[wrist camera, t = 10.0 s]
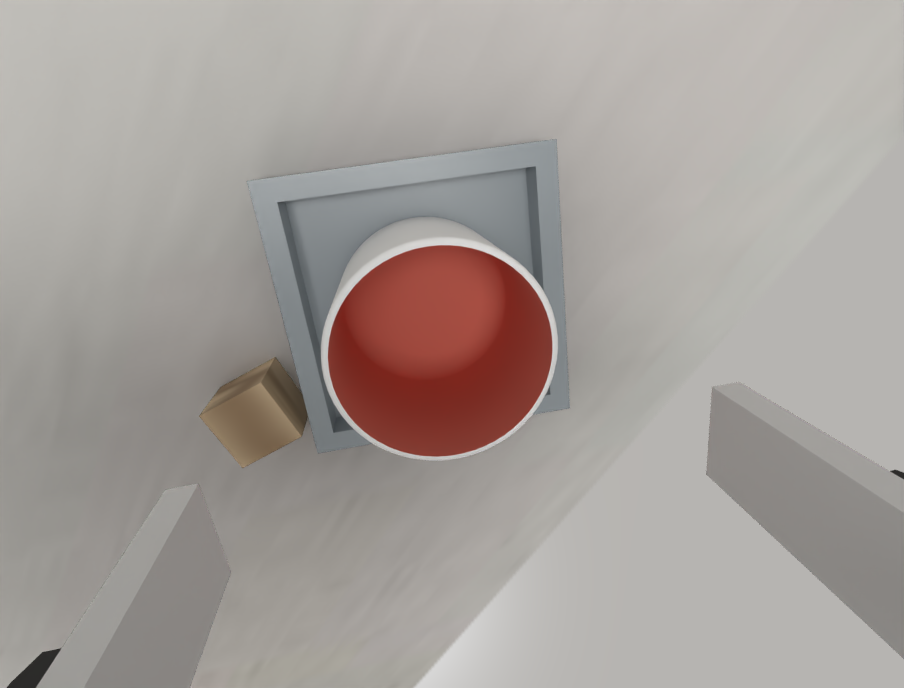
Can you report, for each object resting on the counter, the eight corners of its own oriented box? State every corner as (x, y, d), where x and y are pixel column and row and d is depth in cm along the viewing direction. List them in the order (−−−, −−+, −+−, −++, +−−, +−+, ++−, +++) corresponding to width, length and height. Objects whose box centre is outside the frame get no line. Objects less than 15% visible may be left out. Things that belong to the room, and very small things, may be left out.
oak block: (258, 433, 33) (242, 468, 29) (221, 386, 31) (199, 416, 28) (311, 405, 32) (301, 436, 29) (275, 356, 31) (260, 382, 27)
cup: (497, 375, 32) (544, 460, 23) (341, 374, 31) (323, 464, 22) (513, 218, 29) (574, 243, 20) (339, 209, 28) (316, 231, 18)
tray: (323, 429, 33) (317, 453, 30) (260, 179, 27) (246, 180, 25) (554, 388, 34) (569, 408, 31) (539, 141, 29) (556, 138, 26)
